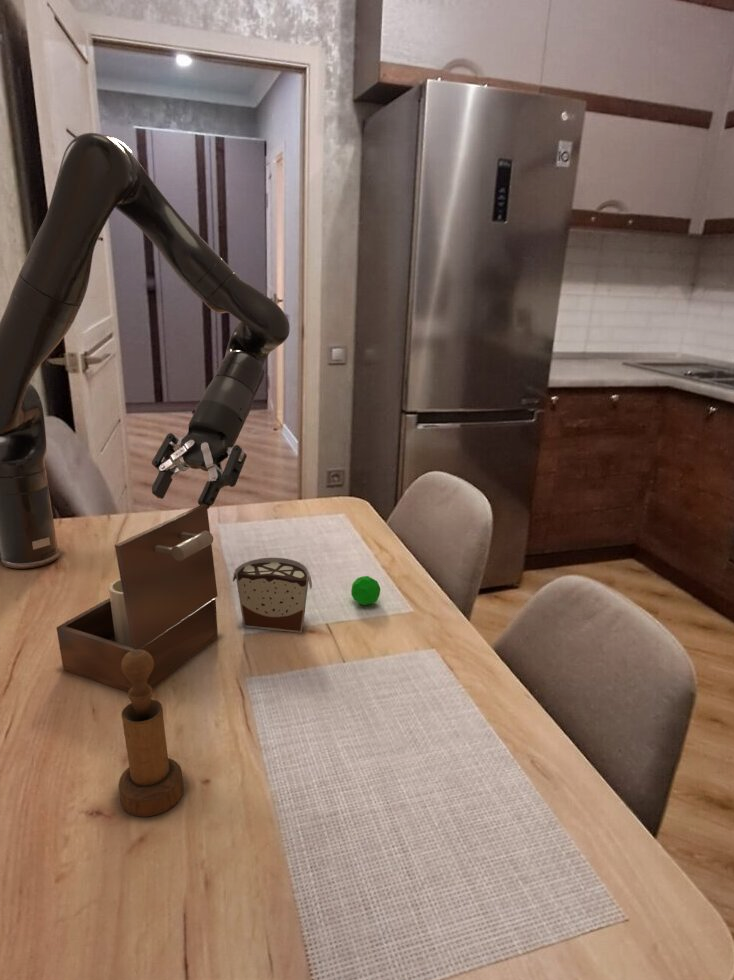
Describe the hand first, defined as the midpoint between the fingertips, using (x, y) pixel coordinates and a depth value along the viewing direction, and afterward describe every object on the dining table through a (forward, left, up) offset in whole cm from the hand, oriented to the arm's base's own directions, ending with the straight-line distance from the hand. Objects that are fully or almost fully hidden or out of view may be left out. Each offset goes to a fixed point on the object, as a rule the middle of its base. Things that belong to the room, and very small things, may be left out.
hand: (179, 501), depth 100 cm
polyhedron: (+23, +17, -20) cm, 35 cm away
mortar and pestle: (+21, -33, -20) cm, 44 cm away
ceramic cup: (0, -12, -19) cm, 22 cm away
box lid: (+7, -12, -5) cm, 15 cm away
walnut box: (+1, -12, -20) cm, 23 cm away
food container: (+13, +5, -20) cm, 25 cm away
